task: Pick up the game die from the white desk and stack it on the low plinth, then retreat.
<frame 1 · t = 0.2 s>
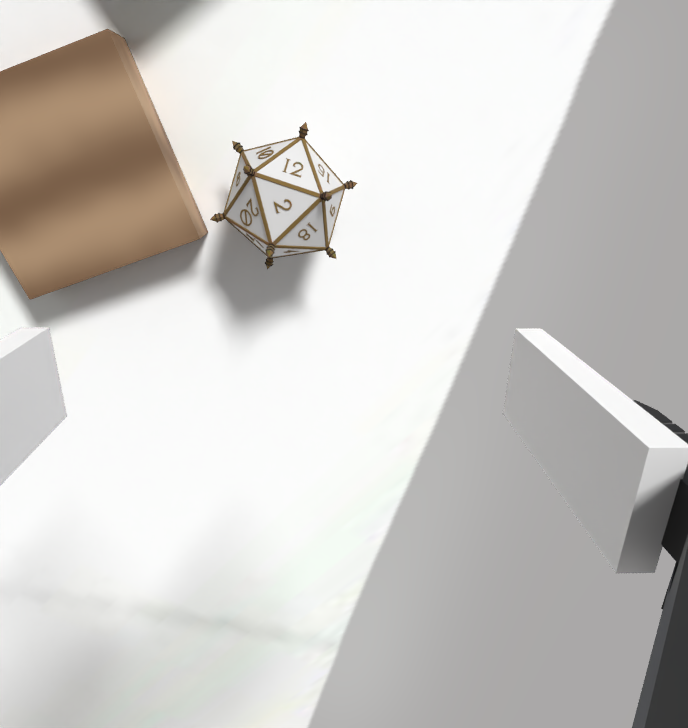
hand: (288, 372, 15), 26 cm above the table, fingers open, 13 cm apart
game die: (288, 195, 38), on the table
plinth: (84, 173, 37), on the table
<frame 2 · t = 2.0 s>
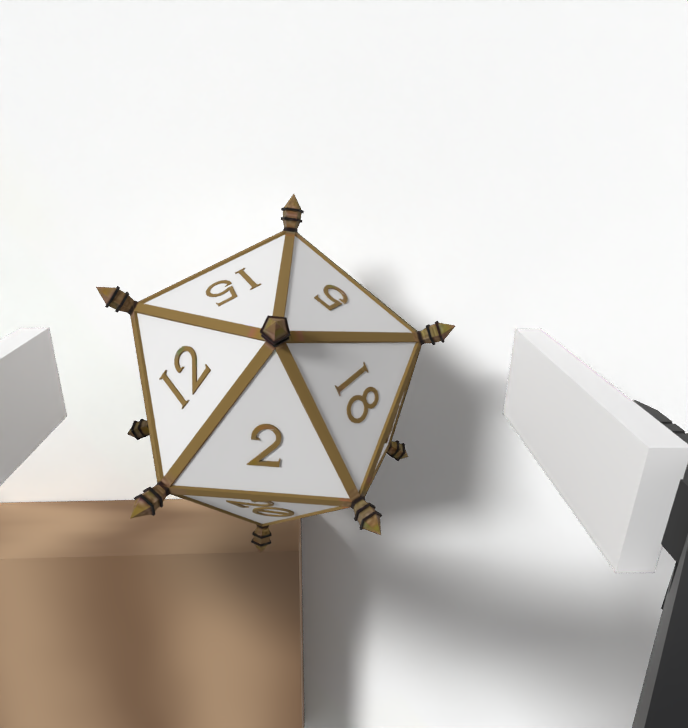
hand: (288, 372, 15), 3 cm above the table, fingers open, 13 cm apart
game die: (283, 335, 18), on the table
plinth: (149, 627, 22), on the table
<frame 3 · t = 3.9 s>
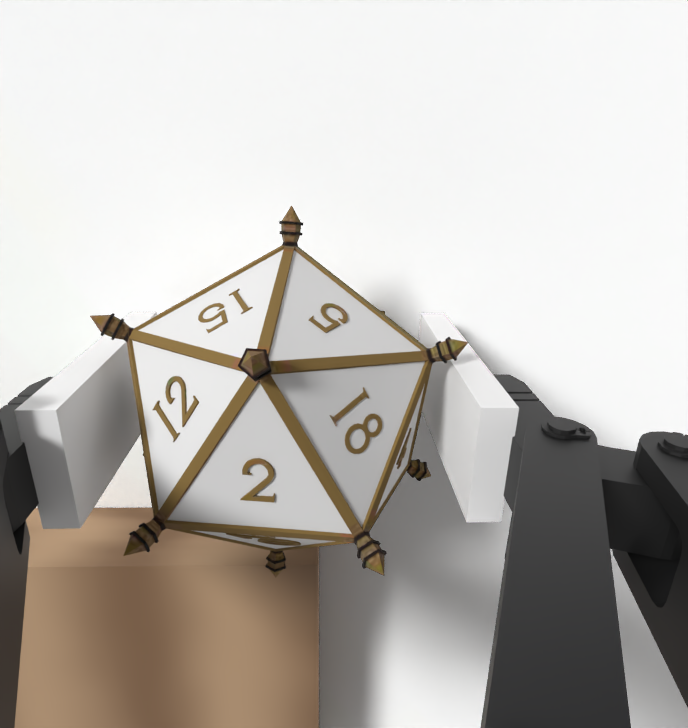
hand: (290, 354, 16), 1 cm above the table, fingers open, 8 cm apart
game die: (301, 347, 17), on the table, touching gripper
plinth: (163, 636, 22), on the table
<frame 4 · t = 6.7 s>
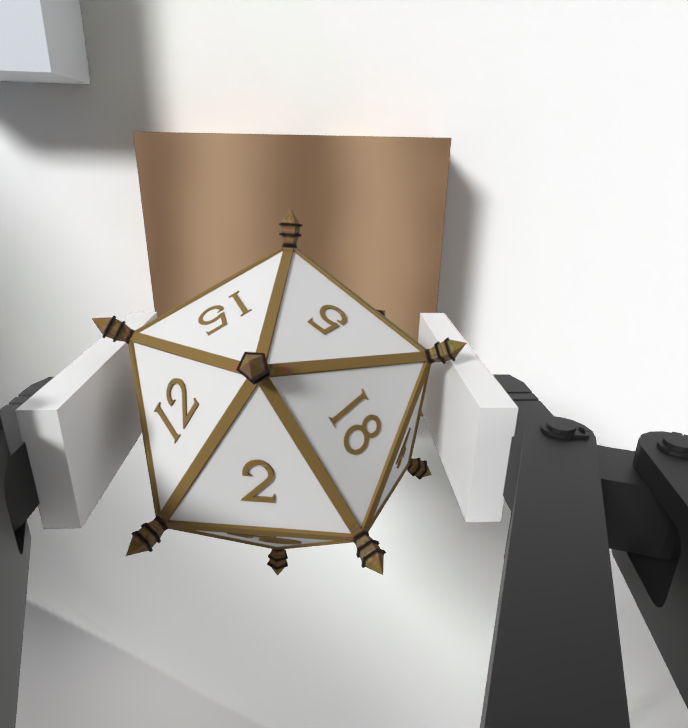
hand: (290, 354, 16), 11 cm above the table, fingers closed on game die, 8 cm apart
game die: (302, 346, 18), point 10 cm above the table, touching gripper
plinth: (299, 275, 27), on the table
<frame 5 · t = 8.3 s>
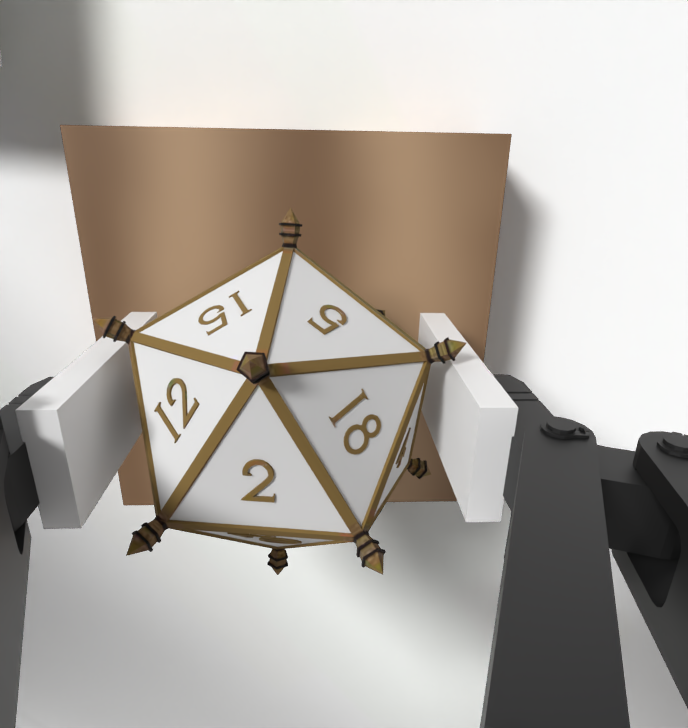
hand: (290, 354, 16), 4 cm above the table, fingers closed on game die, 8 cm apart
game die: (302, 346, 18), point 3 cm above the table, touching gripper
plinth: (297, 316, 20), on the table
when the fingers open (4 cm above the table, at t = 9.0 s): game die stays where it is, resting on plinth.
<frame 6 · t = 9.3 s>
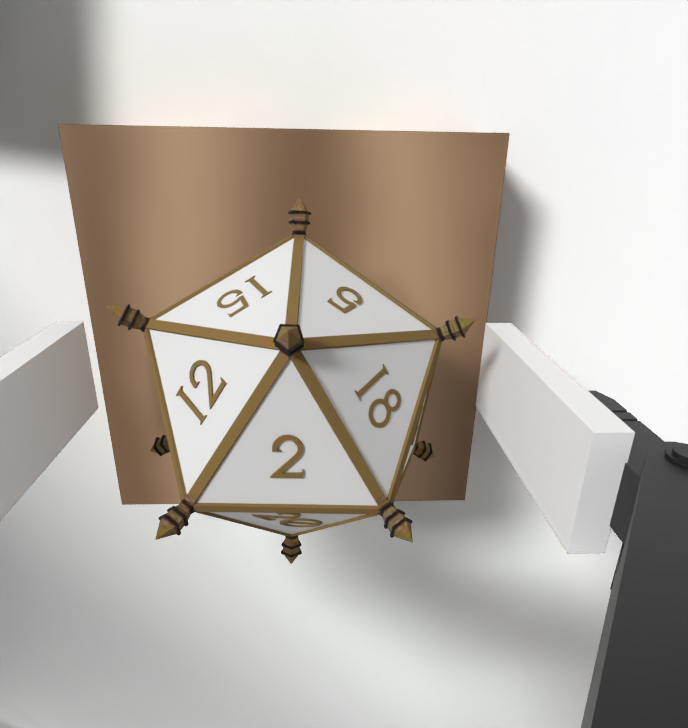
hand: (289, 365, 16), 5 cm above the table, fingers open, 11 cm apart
game die: (300, 340, 18), point 3 cm above the table, touching plinth
plinth: (296, 315, 20), on the table
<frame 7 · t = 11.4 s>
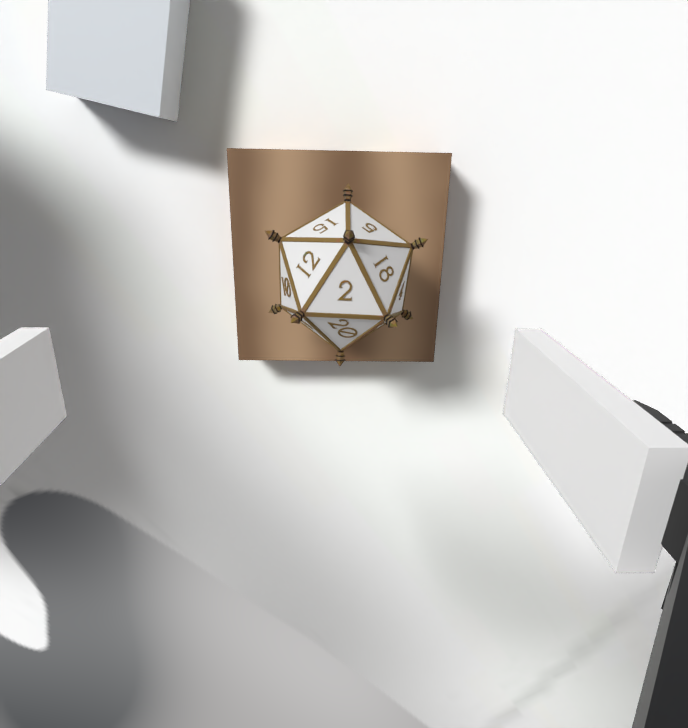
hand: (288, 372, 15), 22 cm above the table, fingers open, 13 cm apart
card box: (135, 26, 31), on the table
game die: (342, 263, 33), point 3 cm above the table, touching plinth
plinth: (337, 255, 36), on the table
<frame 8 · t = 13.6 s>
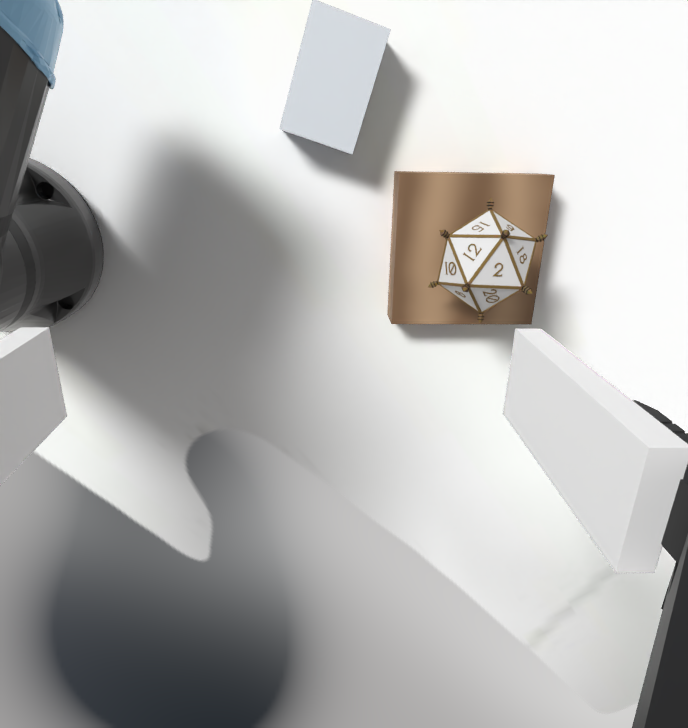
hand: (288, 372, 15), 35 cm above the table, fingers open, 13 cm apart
card box: (332, 86, 44), on the table
game die: (471, 252, 46), point 3 cm above the table, touching plinth
plinth: (460, 247, 49), on the table
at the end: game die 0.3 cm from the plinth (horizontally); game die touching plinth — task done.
